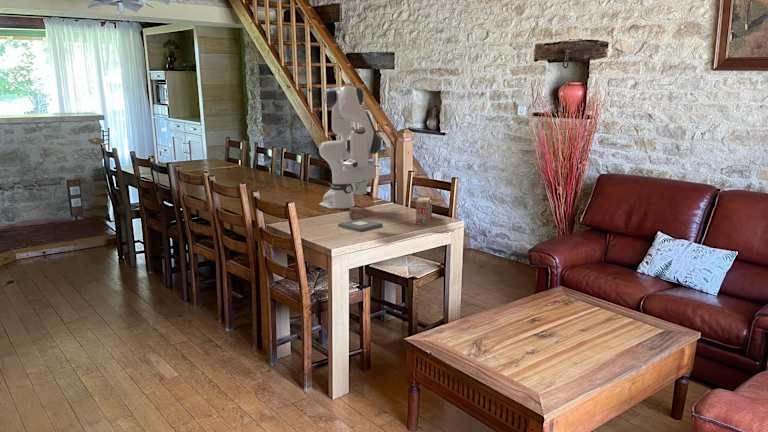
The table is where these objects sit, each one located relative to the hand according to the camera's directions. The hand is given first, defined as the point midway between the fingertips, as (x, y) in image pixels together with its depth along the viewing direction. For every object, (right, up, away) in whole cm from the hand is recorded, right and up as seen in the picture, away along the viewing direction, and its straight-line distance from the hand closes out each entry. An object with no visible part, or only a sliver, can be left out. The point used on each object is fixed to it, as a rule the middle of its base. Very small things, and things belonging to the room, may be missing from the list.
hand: (359, 189), depth 310 cm
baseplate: (0, -19, +4) cm, 19 cm away
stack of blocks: (+33, -16, +17) cm, 41 cm away
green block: (0, -2, 0) cm, 2 cm away
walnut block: (-3, -15, +21) cm, 26 cm away
